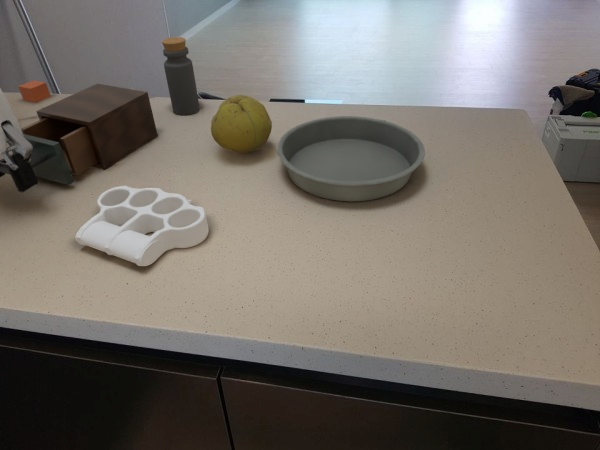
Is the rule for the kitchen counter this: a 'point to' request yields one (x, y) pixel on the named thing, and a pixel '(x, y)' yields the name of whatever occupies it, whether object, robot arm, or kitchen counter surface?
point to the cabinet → (108, 119)
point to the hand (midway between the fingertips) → (12, 182)
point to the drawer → (57, 149)
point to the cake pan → (350, 157)
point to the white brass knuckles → (143, 224)
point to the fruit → (241, 124)
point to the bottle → (180, 77)
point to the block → (34, 91)
